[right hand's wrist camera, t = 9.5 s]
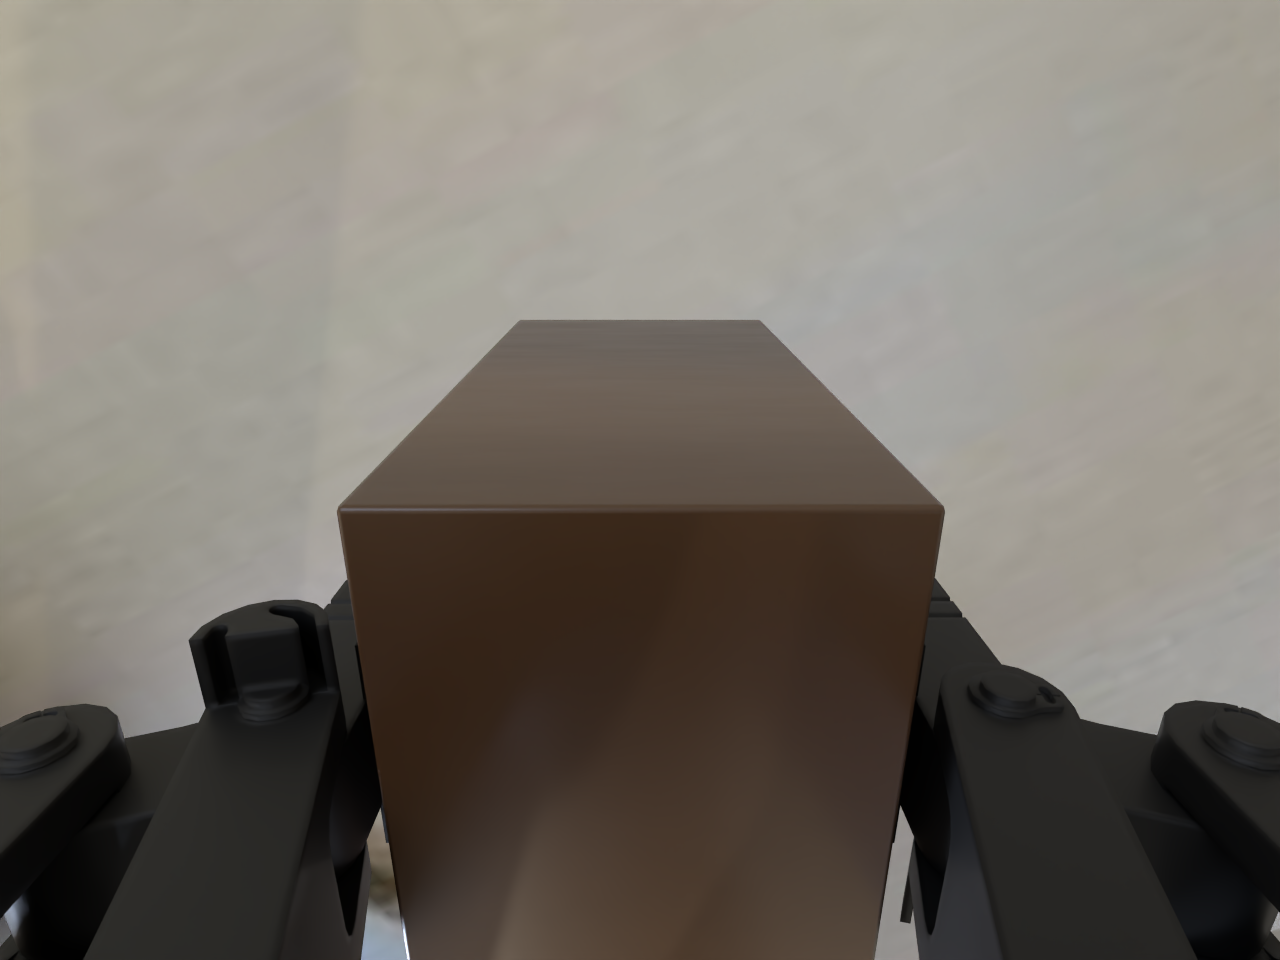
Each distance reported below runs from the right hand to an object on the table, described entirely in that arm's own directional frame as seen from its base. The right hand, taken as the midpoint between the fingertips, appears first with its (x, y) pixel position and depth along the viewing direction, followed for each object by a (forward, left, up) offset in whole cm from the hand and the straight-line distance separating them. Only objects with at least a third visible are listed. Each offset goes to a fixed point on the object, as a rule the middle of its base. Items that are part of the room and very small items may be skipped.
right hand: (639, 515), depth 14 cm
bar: (+2, +9, -1) cm, 9 cm away
